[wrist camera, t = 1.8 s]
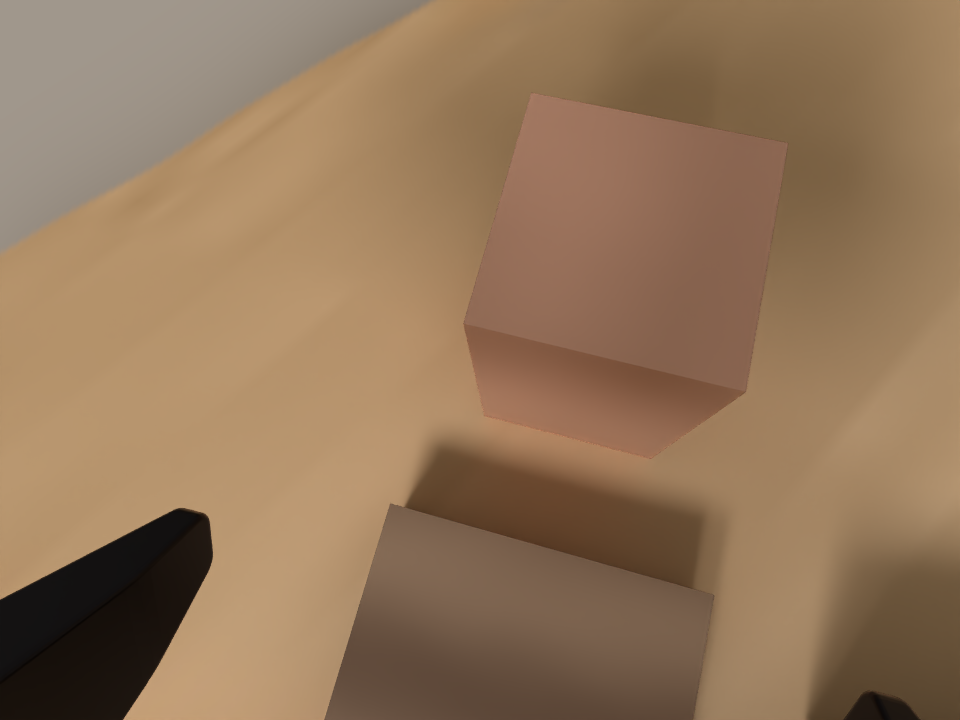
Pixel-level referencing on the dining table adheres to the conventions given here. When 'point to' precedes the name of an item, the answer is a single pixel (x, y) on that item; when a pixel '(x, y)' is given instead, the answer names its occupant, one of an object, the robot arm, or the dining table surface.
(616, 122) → the reddish brown block
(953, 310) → the dining table surface
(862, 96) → the dining table surface
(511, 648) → the walnut block
